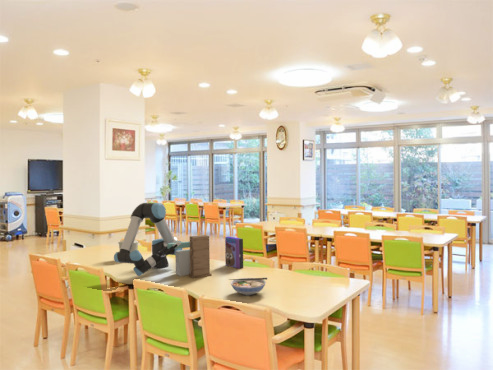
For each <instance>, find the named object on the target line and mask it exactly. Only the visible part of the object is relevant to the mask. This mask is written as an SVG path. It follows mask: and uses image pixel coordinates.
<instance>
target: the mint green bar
mask: <svg viewBox="0 0 493 370" xmlns="http://www.w3.org/2000/svg"><path fill="white" fill-rule="evenodd" d="M174 244H175V243H168V244H167V249H169V248H170V247H172V246H173V245H174ZM179 248H182V249H190V240H189V241H181V244H180V245H179V246H178V247H176V248H175V249H179Z"/></svg>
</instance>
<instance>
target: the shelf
mask: <svg viewBox="0 0 493 370" xmlns="http://www.w3.org/2000/svg"><path fill="white" fill-rule="evenodd" d="M174 256H175V275H177V276H178V277H184V276H189V275H188V274H190V248H186V249H182V250H178V251H175V255H174Z"/></svg>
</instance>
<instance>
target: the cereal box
mask: <svg viewBox="0 0 493 370" xmlns="http://www.w3.org/2000/svg"><path fill="white" fill-rule="evenodd" d="M224 240H225V241H224V242H225V243H224V246H225V247H224V248H225V250H224V251H225V253H224V254H225V258H224V259H225V267H230V268H234V269H239V270H240V269H243V268H244V239H243V238H240V237H235V236H225V238H224Z"/></svg>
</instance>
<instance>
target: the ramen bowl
mask: <svg viewBox="0 0 493 370" xmlns="http://www.w3.org/2000/svg"><path fill="white" fill-rule="evenodd" d="M228 280H229V281H230V285H231V287H232V289H233V290H234V291H235V292H237V293H238V294H241V295H243V296H254V295H255V294H257V293H260V292H261V291H262V290H263V288H264V287H265V286H266V283H267V282H266V281H265V280H268V277H256V278H255V277H243V278H233V279H231V278H229V279H228Z"/></svg>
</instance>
